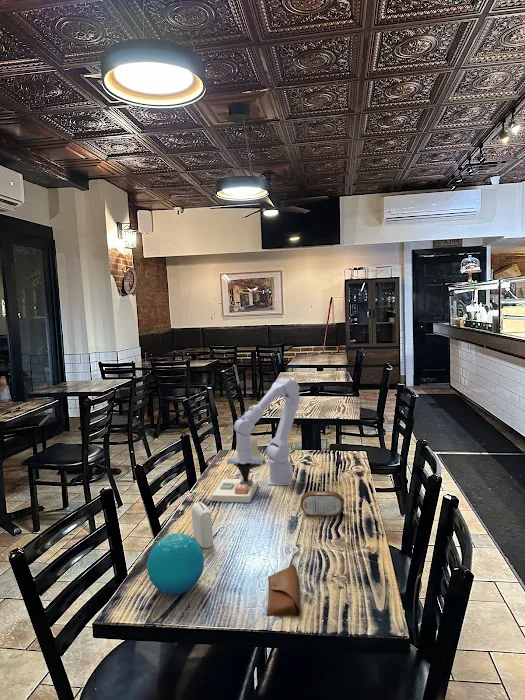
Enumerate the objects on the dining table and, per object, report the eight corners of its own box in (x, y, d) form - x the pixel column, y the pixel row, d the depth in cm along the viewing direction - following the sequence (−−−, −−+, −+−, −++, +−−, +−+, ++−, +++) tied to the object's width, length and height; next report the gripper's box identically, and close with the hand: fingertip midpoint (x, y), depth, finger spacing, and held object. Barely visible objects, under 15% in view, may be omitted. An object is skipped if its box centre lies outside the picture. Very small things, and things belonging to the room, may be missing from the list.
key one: (252, 486, 197) (252, 478, 196) (250, 490, 192) (250, 482, 192) (242, 486, 197) (241, 478, 197) (239, 490, 193) (239, 482, 193)
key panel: (258, 485, 199) (257, 479, 198) (249, 502, 182) (249, 496, 182) (223, 484, 201) (222, 479, 201) (211, 501, 185) (211, 495, 184)
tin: (343, 513, 169) (342, 490, 169) (344, 516, 166) (343, 493, 165) (301, 513, 171) (300, 490, 170) (300, 517, 168) (299, 494, 167)
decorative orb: (169, 570, 138) (166, 520, 136) (215, 579, 132) (212, 527, 131) (137, 600, 124) (133, 545, 123) (187, 612, 118) (183, 555, 117)
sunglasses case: (266, 574, 133) (277, 554, 132) (288, 586, 133) (299, 566, 132) (265, 617, 115) (278, 594, 114) (291, 630, 115) (304, 607, 114)
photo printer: (191, 536, 157) (189, 500, 156) (204, 533, 159) (202, 497, 158) (202, 550, 148) (199, 512, 147) (215, 546, 150) (212, 508, 149)
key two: (248, 491, 189) (248, 483, 188) (246, 496, 184) (245, 488, 184) (237, 491, 189) (237, 483, 189) (235, 495, 185) (234, 488, 185)
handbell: (252, 469, 218) (250, 416, 215) (226, 465, 226) (223, 413, 224) (270, 459, 231) (268, 409, 228) (245, 455, 239) (242, 406, 236)
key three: (233, 489, 194) (233, 482, 194) (231, 494, 190) (230, 486, 189) (223, 489, 195) (223, 482, 194) (220, 493, 190) (220, 486, 190)
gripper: (224, 451, 191) (226, 484, 192) (259, 451, 188) (261, 485, 189) (228, 446, 198) (230, 477, 199) (263, 446, 195) (264, 478, 196)
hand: (245, 481), depth 195 cm, fingers closed, pressing on key one
